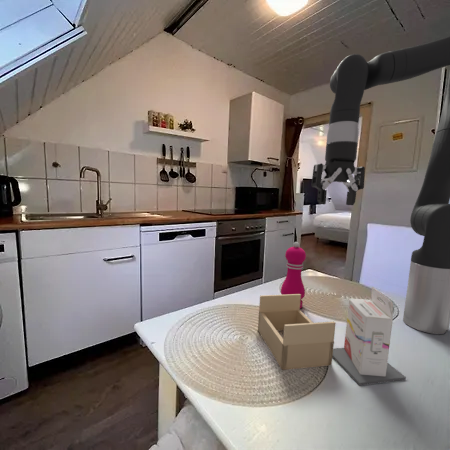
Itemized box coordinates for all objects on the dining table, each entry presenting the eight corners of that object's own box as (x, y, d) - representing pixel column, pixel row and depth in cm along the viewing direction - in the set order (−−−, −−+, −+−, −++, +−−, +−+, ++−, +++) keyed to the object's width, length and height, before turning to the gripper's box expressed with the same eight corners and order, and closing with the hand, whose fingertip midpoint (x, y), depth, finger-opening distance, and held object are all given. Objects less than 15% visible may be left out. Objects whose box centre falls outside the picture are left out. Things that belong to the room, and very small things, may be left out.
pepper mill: (275, 301, 80) (279, 239, 78) (295, 299, 82) (299, 239, 80) (287, 311, 73) (292, 244, 71) (308, 309, 76) (314, 244, 73)
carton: (297, 327, 65) (299, 293, 64) (331, 365, 50) (335, 322, 49) (257, 330, 62) (260, 295, 61) (282, 370, 48) (285, 326, 47)
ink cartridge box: (342, 348, 56) (349, 284, 54) (365, 350, 55) (373, 285, 53) (359, 375, 47) (367, 300, 45) (387, 378, 47) (396, 302, 45)
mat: (366, 347, 57) (366, 345, 57) (405, 379, 47) (406, 377, 47) (326, 351, 55) (326, 349, 55) (359, 385, 45) (359, 382, 45)
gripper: (355, 147, 71) (349, 205, 73) (309, 143, 68) (304, 203, 70) (376, 142, 64) (369, 206, 65) (326, 137, 61) (320, 204, 62)
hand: (336, 204), depth 68 cm, fingers open, 8 cm apart
